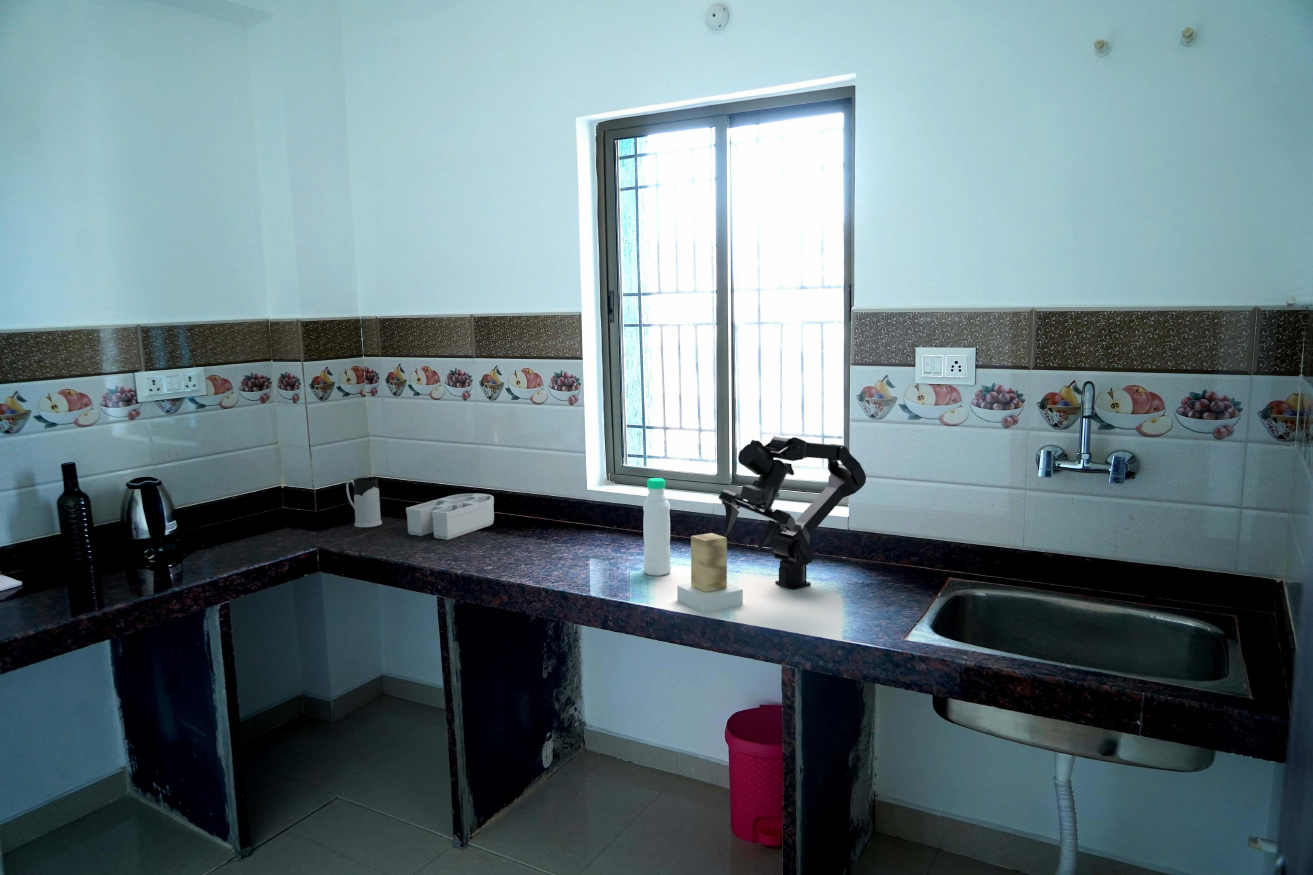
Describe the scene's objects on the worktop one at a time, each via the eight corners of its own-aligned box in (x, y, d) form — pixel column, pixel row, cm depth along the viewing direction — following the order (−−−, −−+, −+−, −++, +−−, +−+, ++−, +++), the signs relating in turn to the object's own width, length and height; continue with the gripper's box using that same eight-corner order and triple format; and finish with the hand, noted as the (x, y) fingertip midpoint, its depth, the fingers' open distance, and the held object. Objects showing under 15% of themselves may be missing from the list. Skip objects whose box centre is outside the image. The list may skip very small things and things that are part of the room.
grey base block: (714, 593, 215) (714, 577, 214) (742, 605, 205) (742, 589, 205) (677, 601, 209) (677, 585, 208) (704, 614, 200) (704, 597, 199)
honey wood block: (712, 582, 211) (711, 532, 210) (726, 587, 206) (726, 537, 204) (691, 585, 208) (690, 535, 206) (705, 591, 203) (705, 540, 201)
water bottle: (672, 575, 228) (672, 480, 225) (646, 577, 227) (644, 482, 224) (668, 567, 235) (667, 476, 232) (642, 569, 234) (640, 477, 231)
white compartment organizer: (406, 535, 275) (405, 508, 274) (466, 516, 299) (464, 491, 298) (447, 541, 267) (446, 513, 266) (505, 521, 292) (504, 496, 290)
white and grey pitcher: (366, 528, 283) (363, 482, 281) (337, 523, 291) (335, 478, 289) (387, 522, 290) (385, 478, 288) (359, 517, 298) (357, 474, 296)
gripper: (725, 459, 209) (696, 518, 206) (794, 485, 200) (766, 547, 197) (739, 475, 218) (713, 531, 216) (807, 500, 209) (779, 559, 206)
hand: (741, 541), depth 208 cm, fingers open, 9 cm apart
